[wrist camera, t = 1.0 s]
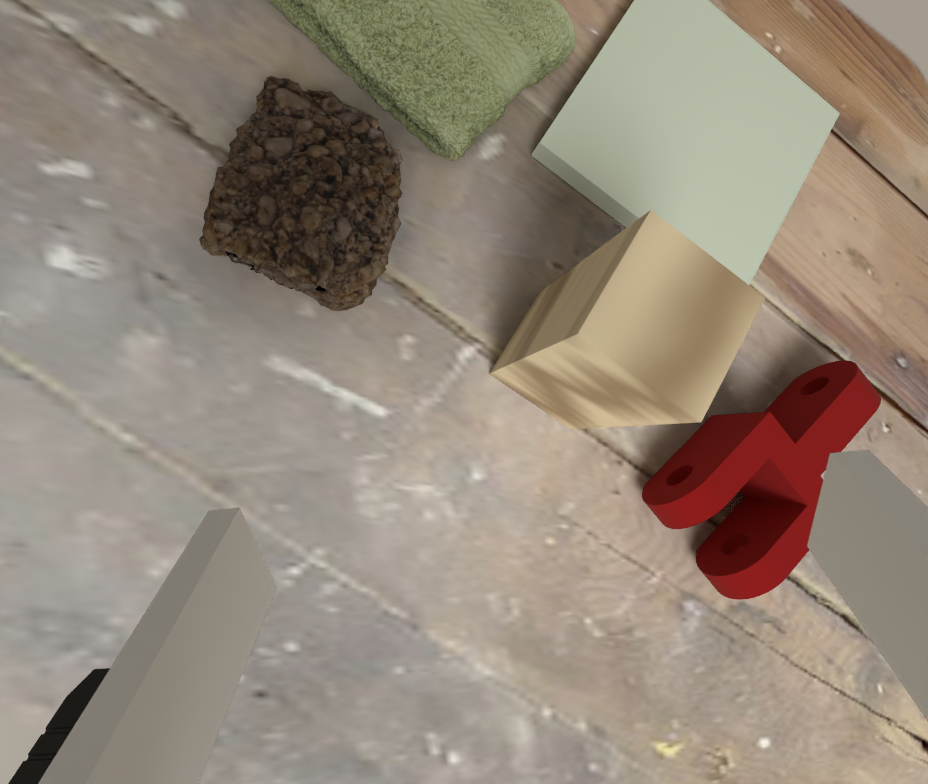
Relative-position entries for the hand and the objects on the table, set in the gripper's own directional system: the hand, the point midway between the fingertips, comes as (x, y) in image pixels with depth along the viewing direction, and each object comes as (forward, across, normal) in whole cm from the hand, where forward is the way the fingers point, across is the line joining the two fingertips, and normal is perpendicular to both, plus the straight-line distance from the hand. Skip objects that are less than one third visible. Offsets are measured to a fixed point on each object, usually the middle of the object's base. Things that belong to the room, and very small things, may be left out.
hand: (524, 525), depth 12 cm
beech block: (+20, +3, -6) cm, 21 cm away
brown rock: (+22, -10, +4) cm, 24 cm away
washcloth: (+31, -4, +13) cm, 34 cm away
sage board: (+31, +13, +3) cm, 34 cm away
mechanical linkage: (+20, +14, -15) cm, 28 cm away
